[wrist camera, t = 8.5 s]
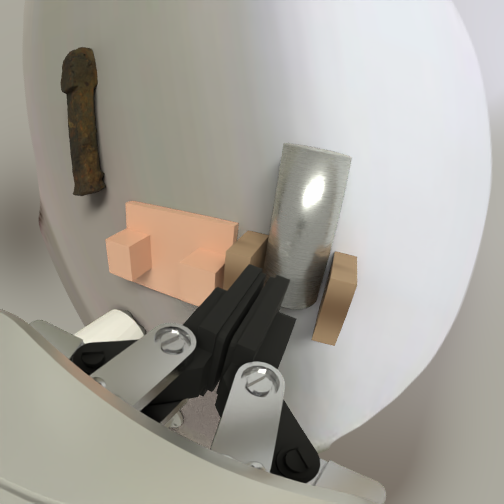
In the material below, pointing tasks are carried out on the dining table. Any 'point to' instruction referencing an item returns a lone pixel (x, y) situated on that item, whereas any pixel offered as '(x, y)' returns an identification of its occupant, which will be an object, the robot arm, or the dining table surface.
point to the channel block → (335, 292)
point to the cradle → (172, 251)
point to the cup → (112, 328)
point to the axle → (305, 219)
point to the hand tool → (82, 119)
